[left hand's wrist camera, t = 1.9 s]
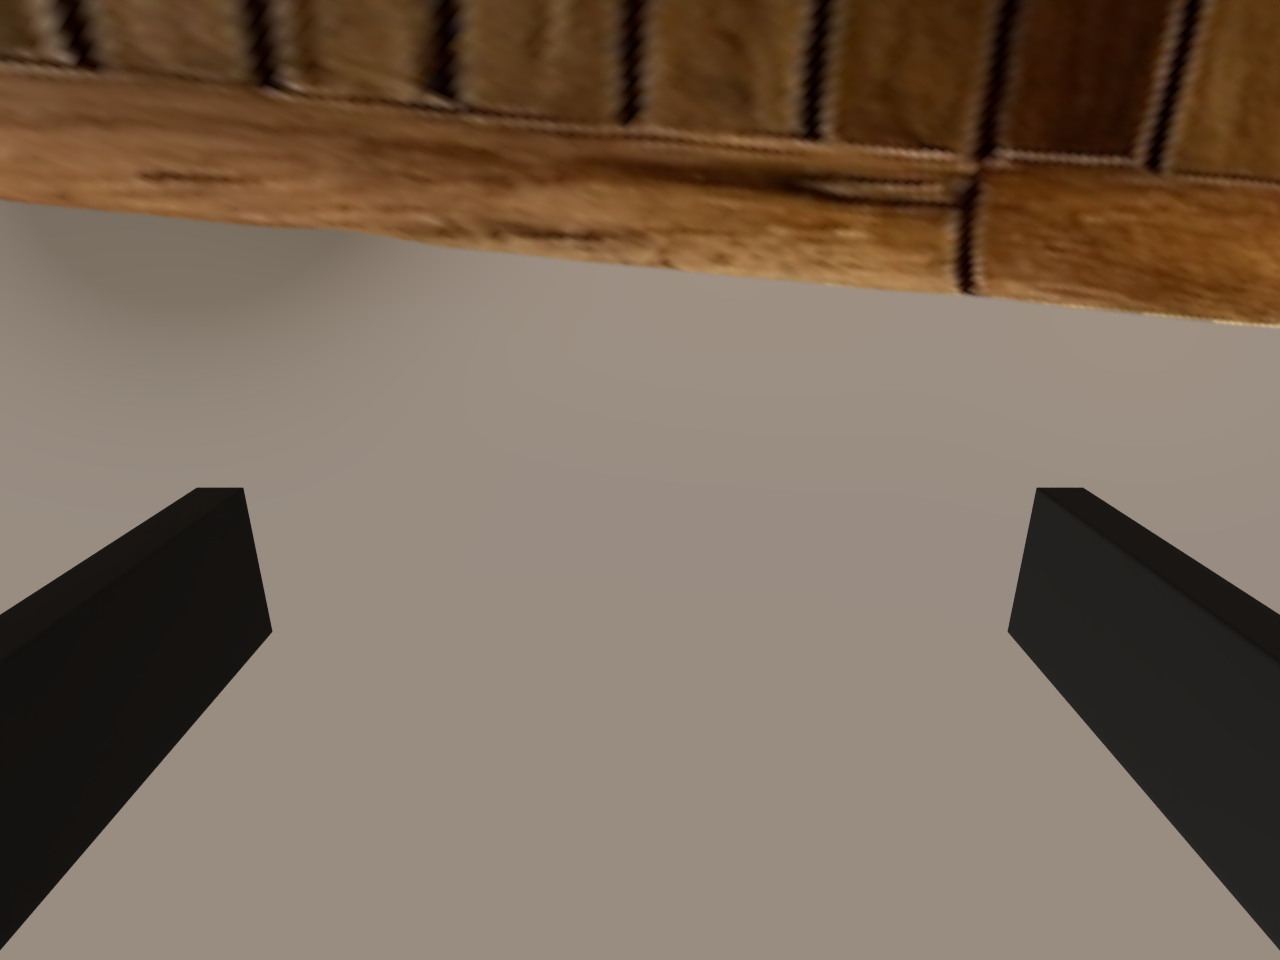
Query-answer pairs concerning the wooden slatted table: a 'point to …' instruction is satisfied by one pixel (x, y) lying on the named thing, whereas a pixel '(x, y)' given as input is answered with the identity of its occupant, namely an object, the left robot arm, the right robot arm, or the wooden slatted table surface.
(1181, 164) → the wooden slatted table surface
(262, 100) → the wooden slatted table surface
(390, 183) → the wooden slatted table surface
